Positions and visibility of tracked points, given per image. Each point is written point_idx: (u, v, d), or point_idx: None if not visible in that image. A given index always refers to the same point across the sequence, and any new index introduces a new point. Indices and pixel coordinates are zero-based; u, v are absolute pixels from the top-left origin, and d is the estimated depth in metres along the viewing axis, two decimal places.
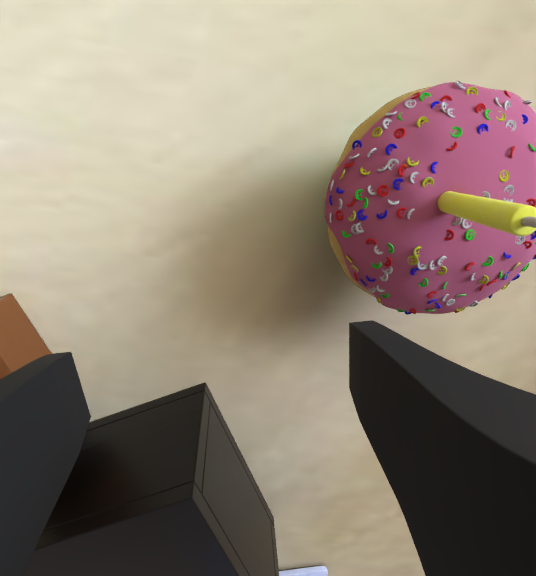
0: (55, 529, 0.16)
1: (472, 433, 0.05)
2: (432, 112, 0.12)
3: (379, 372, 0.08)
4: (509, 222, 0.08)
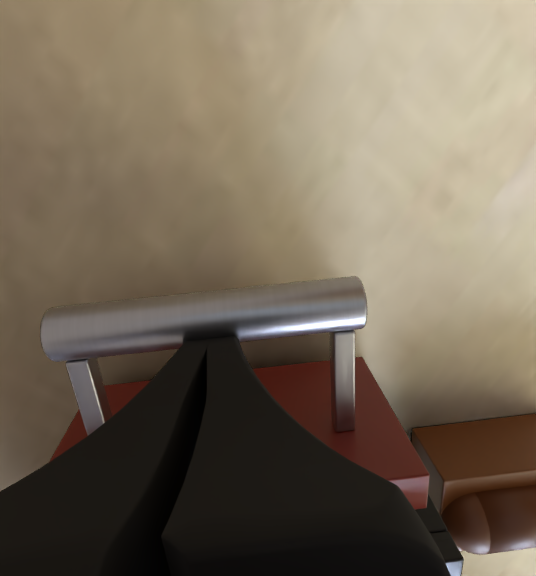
0: None
1: None
2: None
3: None
4: None
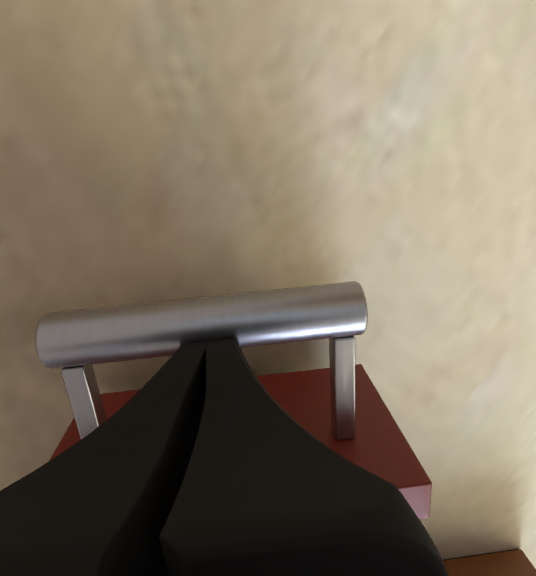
0: None
1: None
2: None
3: None
4: None
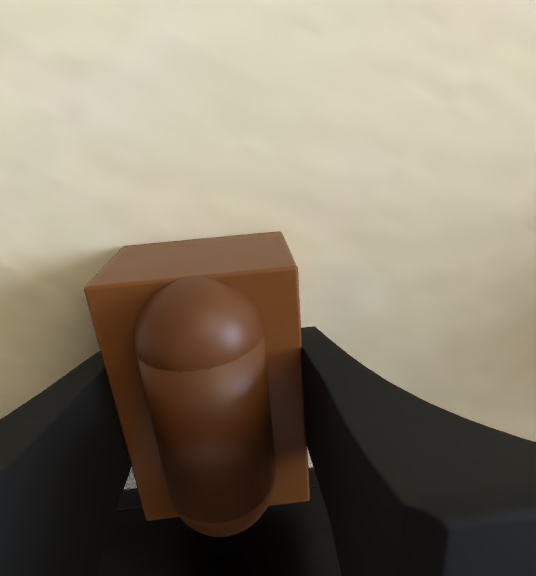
0: None
1: (356, 447, 0.05)
2: None
3: (308, 380, 0.08)
4: None
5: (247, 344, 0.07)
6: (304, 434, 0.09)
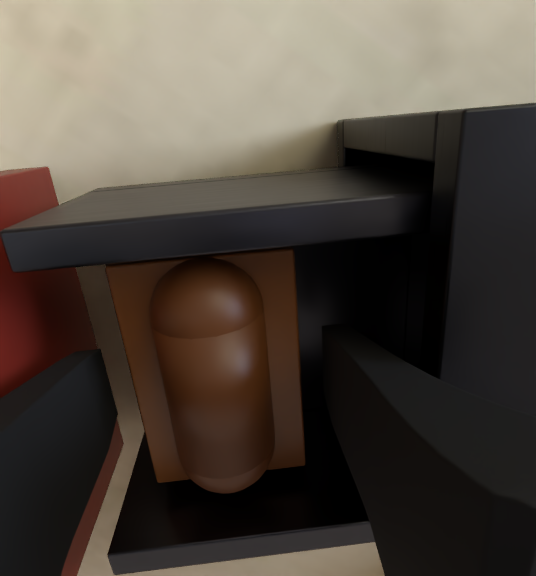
0: None
1: (417, 440, 0.05)
2: None
3: (345, 376, 0.08)
4: None
5: (249, 316, 0.09)
6: (300, 402, 0.10)
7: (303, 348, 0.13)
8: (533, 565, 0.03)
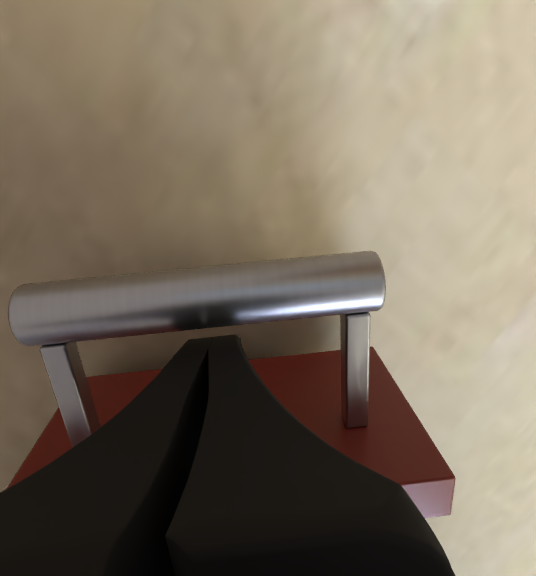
0: None
1: None
2: None
3: None
4: None
5: None
6: None
7: None
8: None
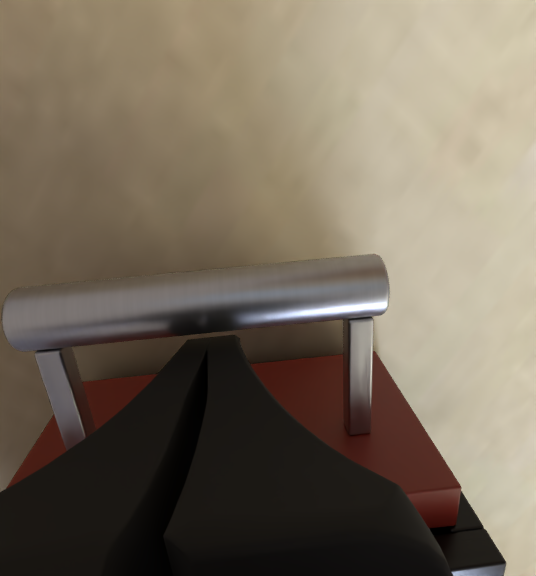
0: None
1: None
2: None
3: None
4: None
5: None
6: None
7: None
8: None
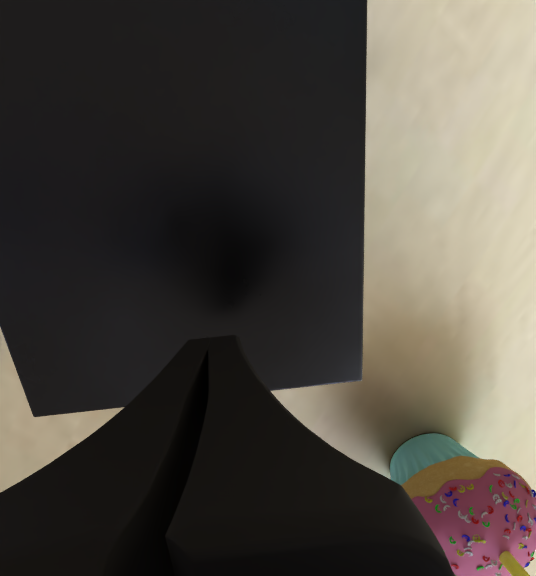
0: None
1: None
2: None
3: None
4: None
5: None
6: None
7: None
8: None
